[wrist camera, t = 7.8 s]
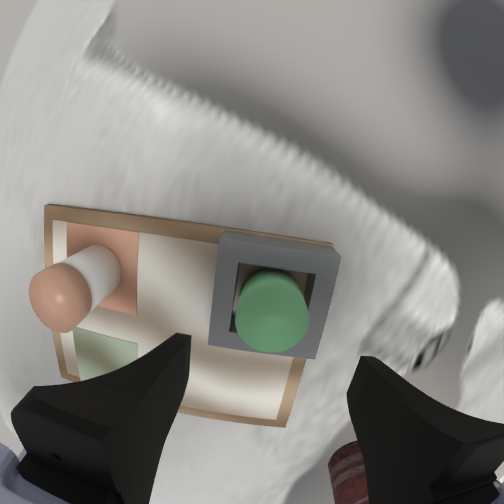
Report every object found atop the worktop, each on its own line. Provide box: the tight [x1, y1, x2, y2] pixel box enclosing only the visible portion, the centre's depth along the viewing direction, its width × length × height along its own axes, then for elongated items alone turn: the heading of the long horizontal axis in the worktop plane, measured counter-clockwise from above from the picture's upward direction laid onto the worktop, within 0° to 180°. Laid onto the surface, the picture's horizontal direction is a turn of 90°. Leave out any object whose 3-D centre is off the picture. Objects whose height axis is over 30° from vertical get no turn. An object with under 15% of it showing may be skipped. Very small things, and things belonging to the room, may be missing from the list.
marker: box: [29, 245, 121, 333], centre depth 17 cm, size 4×4×6 cm
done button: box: [235, 269, 309, 353], centre depth 17 cm, size 4×4×3 cm
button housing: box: [208, 230, 341, 359], centre depth 19 cm, size 7×7×2 cm
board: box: [44, 204, 334, 427], centre depth 21 cm, size 16×21×1 cm
